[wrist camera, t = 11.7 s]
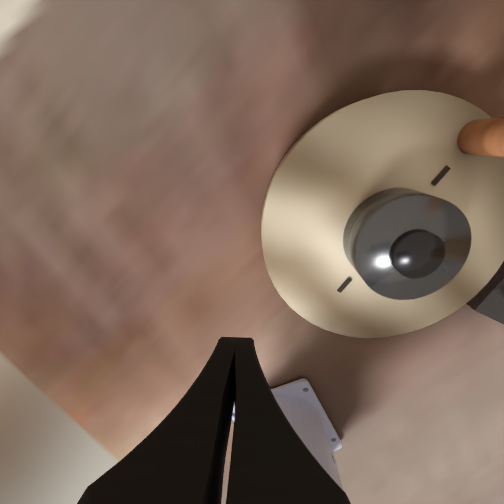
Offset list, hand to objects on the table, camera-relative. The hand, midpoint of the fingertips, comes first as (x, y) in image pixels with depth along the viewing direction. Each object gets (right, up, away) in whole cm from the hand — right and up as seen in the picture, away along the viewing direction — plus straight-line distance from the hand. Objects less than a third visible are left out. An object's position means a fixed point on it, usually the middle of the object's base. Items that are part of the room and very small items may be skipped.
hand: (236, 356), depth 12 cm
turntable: (+9, +6, +8) cm, 14 cm away
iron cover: (+9, +5, +6) cm, 13 cm away
